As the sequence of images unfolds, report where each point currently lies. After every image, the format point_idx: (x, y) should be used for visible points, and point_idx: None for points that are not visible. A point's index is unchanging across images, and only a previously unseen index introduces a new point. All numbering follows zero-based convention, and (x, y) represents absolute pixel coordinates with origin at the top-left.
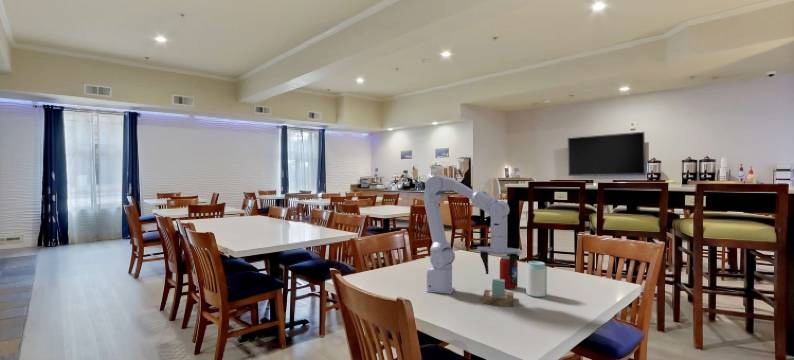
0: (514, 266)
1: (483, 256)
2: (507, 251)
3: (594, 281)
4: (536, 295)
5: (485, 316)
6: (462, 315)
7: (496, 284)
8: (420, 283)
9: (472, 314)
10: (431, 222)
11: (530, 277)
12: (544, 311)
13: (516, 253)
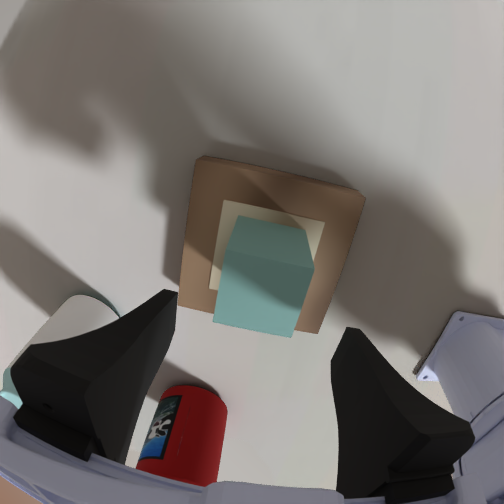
0: (148, 458)
1: (454, 428)
2: (91, 482)
3: None
4: (90, 297)
5: (368, 11)
6: (459, 36)
7: (283, 253)
8: None
9: (423, 40)
10: None
11: None
12: (79, 117)
13: (21, 435)
